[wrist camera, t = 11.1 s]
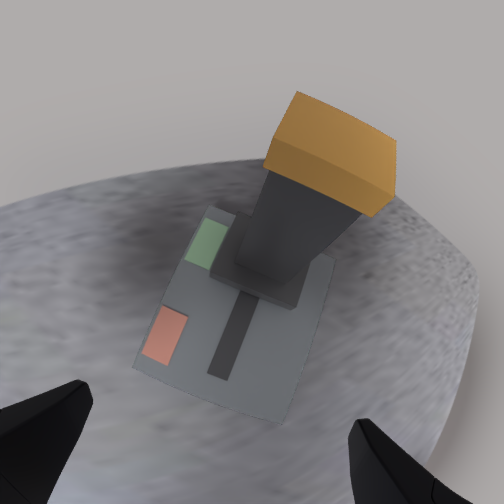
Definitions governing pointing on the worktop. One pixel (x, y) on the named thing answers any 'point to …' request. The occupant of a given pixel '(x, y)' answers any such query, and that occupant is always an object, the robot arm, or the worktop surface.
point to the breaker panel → (231, 332)
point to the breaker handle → (306, 199)
